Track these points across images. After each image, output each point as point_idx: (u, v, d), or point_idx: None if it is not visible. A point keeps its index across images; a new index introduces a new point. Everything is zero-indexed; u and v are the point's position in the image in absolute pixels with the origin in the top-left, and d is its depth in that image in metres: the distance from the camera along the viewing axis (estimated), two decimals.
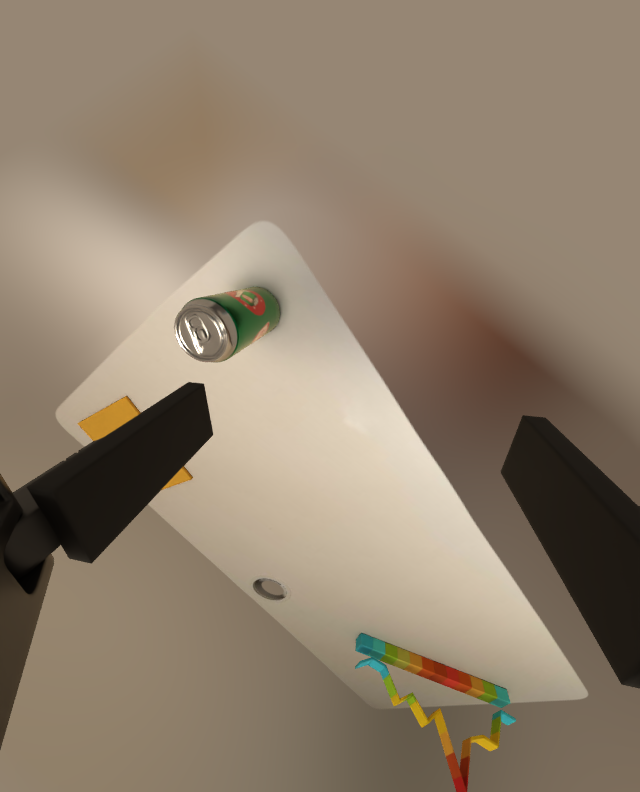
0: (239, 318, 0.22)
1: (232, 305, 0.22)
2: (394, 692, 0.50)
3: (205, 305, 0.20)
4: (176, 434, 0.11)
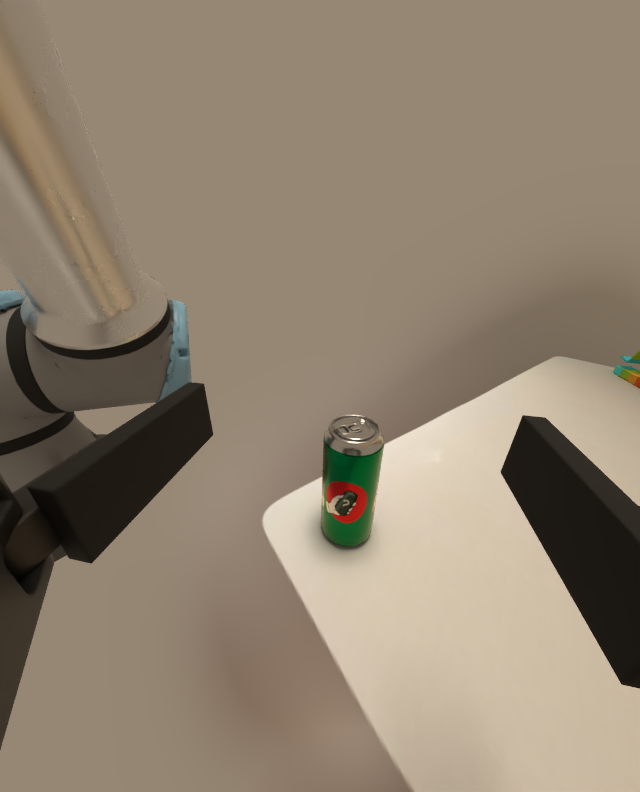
0: None
1: None
2: None
3: (329, 428, 0.24)
4: (176, 434, 0.11)
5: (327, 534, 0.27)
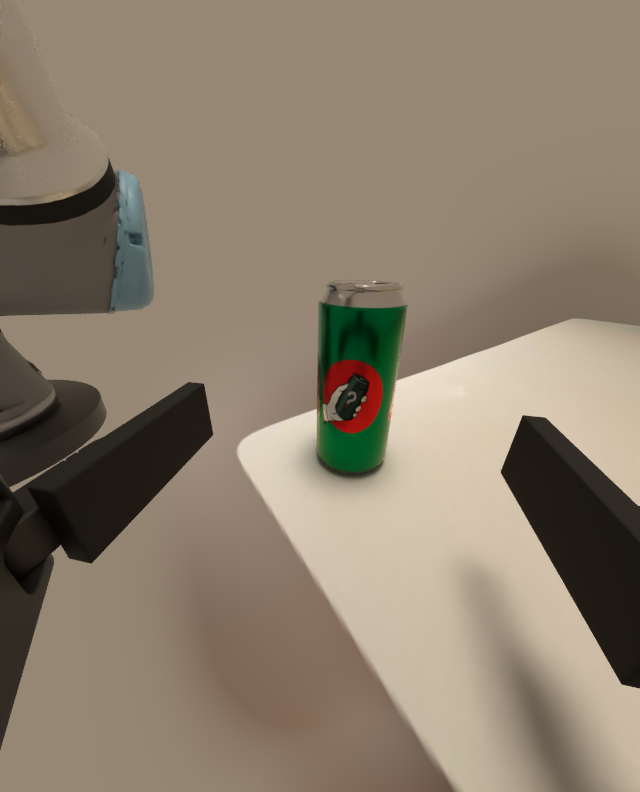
0: None
1: None
2: None
3: None
4: (176, 434, 0.11)
5: (325, 458, 0.19)
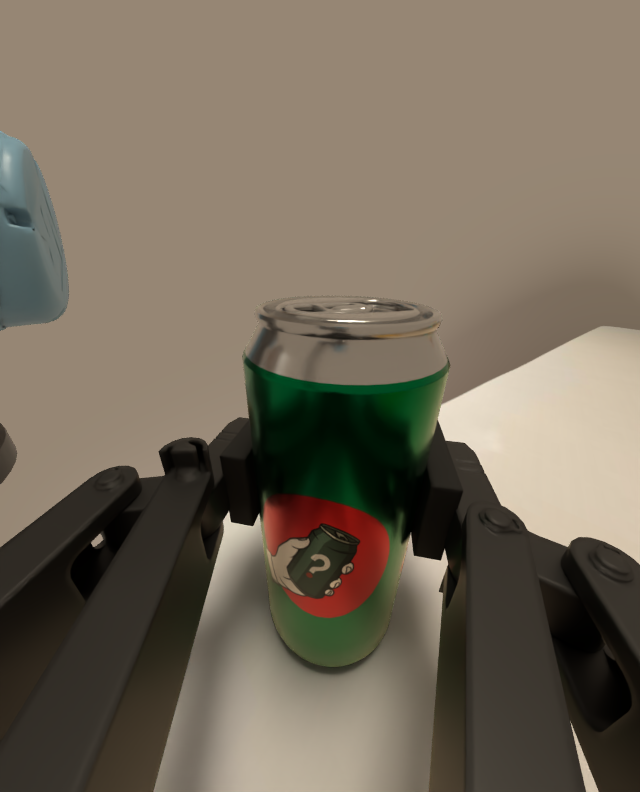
0: None
1: None
2: None
3: None
4: None
5: (278, 629, 0.10)
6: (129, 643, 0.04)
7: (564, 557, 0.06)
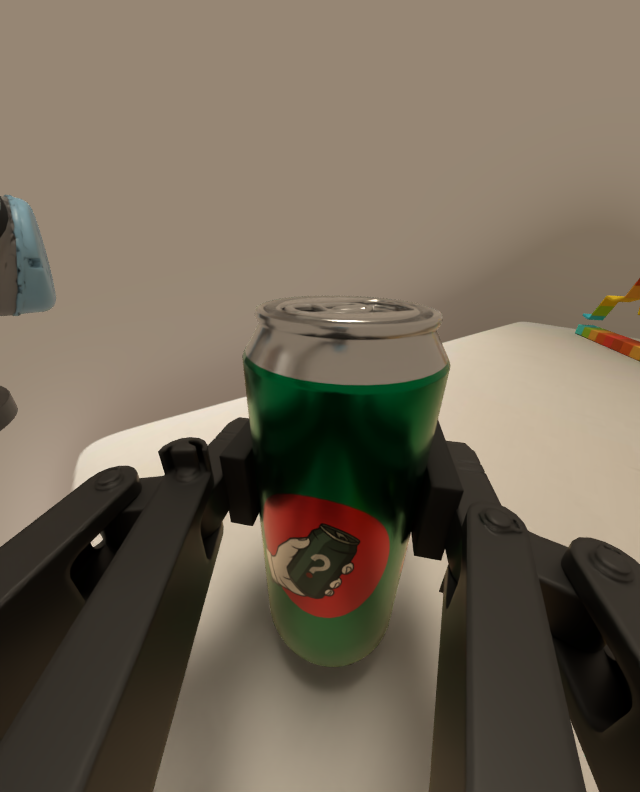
0: None
1: None
2: None
3: None
4: None
5: (278, 629, 0.10)
6: (128, 643, 0.04)
7: (564, 557, 0.06)
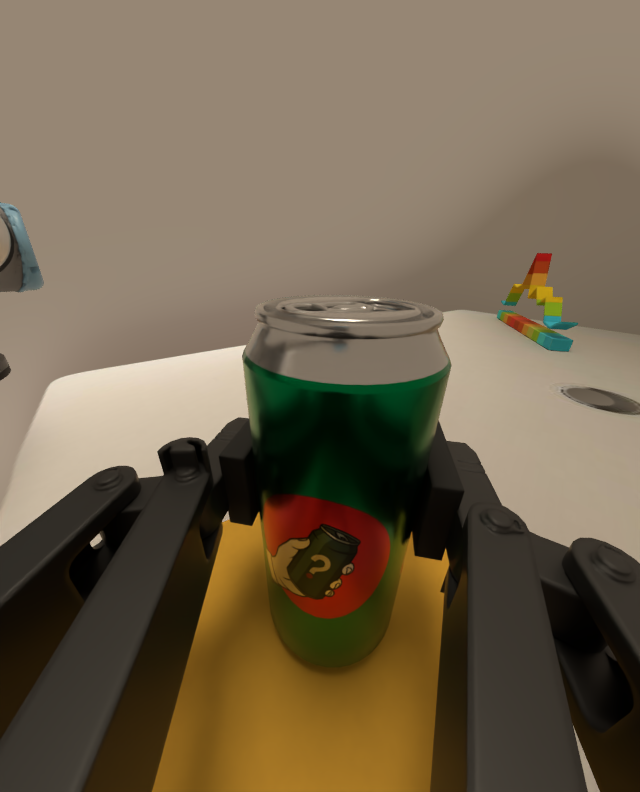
0: None
1: None
2: (548, 303, 0.51)
3: None
4: None
5: (278, 630, 0.10)
6: (128, 643, 0.04)
7: (565, 557, 0.06)
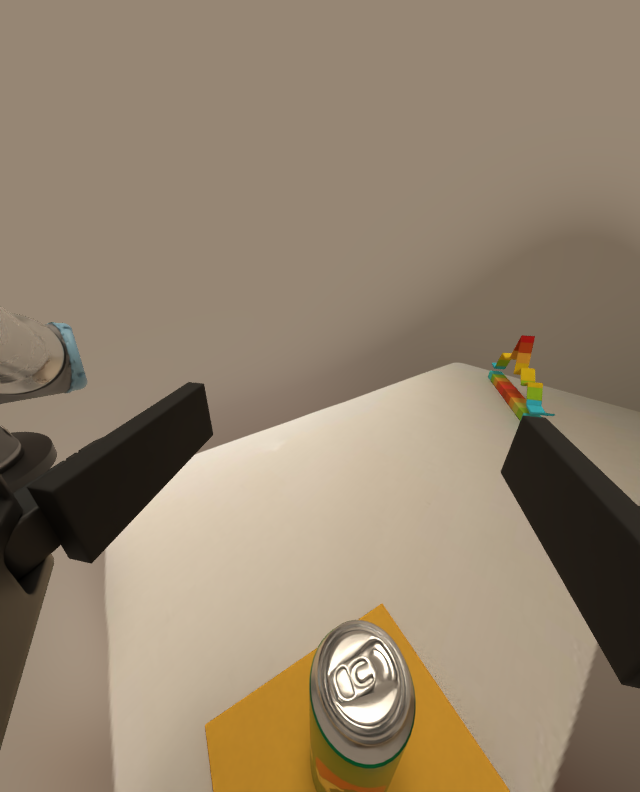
0: None
1: None
2: (530, 388, 0.57)
3: (318, 663, 0.14)
4: (176, 434, 0.11)
5: None
6: None
7: None
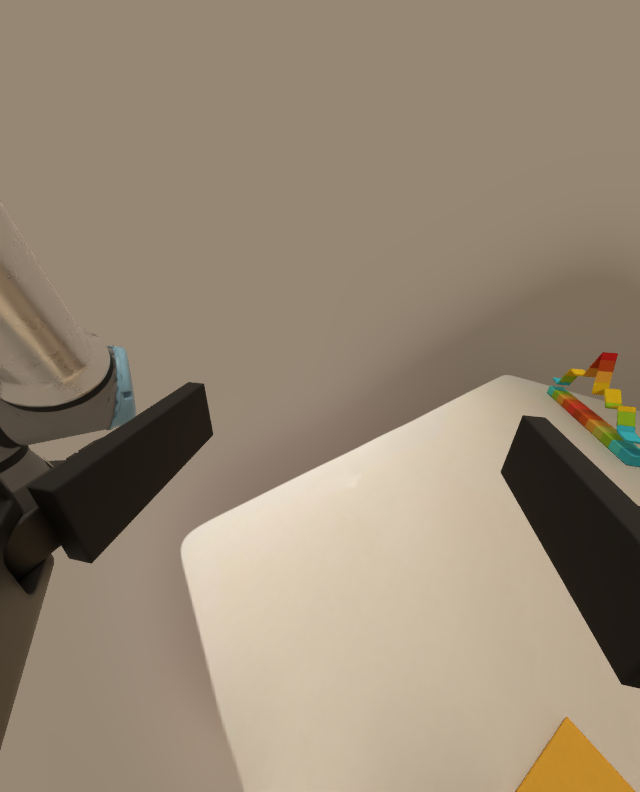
0: None
1: None
2: (621, 412, 0.52)
3: None
4: (176, 434, 0.11)
5: None
6: None
7: None
